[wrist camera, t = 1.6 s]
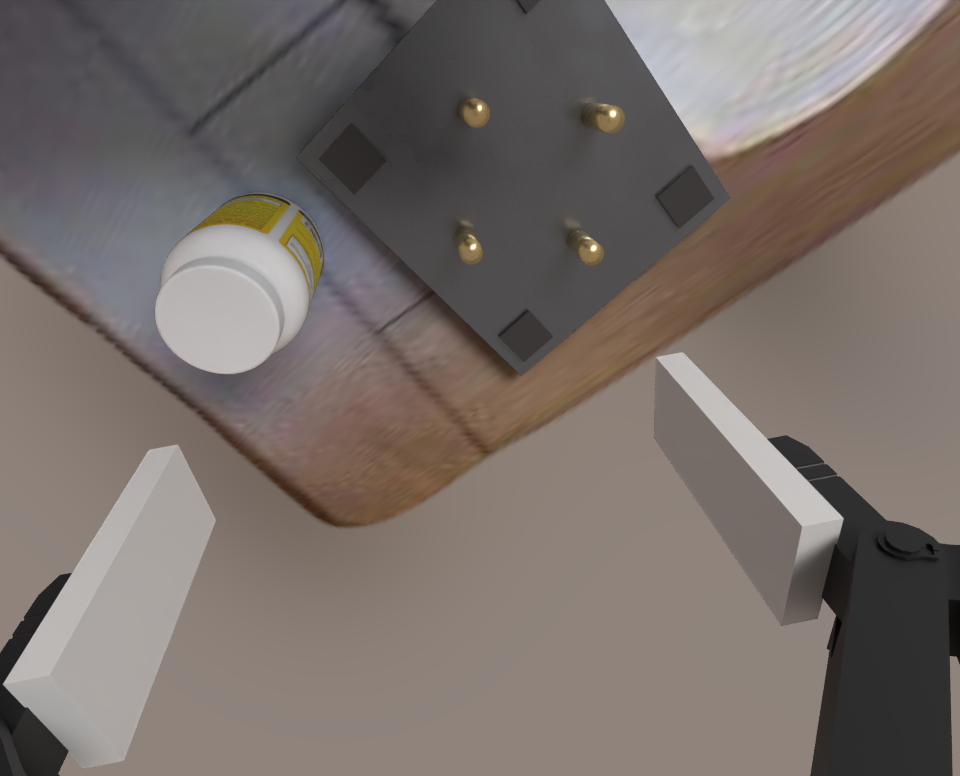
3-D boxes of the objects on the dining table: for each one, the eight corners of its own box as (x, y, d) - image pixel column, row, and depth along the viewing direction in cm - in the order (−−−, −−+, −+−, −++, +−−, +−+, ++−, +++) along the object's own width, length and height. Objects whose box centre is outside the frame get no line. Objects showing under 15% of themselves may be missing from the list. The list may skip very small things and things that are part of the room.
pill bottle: (190, 258, 32) (102, 339, 22) (244, 165, 30) (174, 209, 20) (290, 319, 34) (250, 416, 25) (347, 236, 33) (327, 306, 23)
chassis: (299, 154, 30) (286, 166, 27) (529, -102, 26) (551, -130, 23) (517, 367, 38) (531, 399, 34) (720, 194, 34) (759, 209, 30)
